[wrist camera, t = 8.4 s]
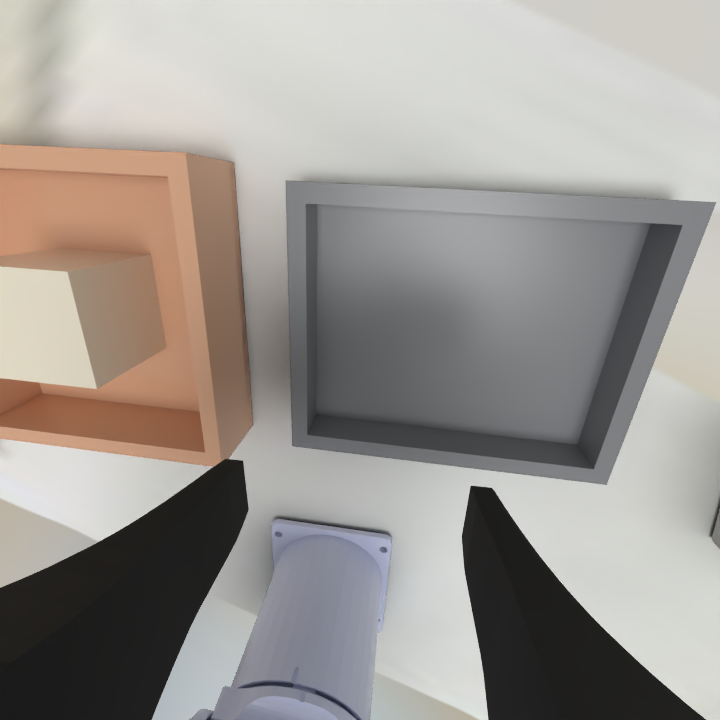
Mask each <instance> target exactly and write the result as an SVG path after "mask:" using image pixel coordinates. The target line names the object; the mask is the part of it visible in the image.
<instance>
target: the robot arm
mask: <svg viewBox="0 0 720 720" xmlns="http://www.w3.org/2000/svg"><path fill="white" fill-rule="evenodd" d="M248 510H249V509H248V501H247V492H246V483H245V475H244V466H243V461H239V460H230V459H224V460H223V461H221V462H220V463H218V464H217V465H216V466H214V467H213V468H211V469H210V470H209V471H207V472H206V473H205V474H203V475H202V476H200V477H199V478H198V479H196V480H195V481H194V482H192V483H191V484H189V485H188V486H187V487H185V488H184V489H182V490H181V491H179V492H178V493H177V494H175V495H174V496H172V497H171V498H170V499H168V500H167V501H165V502H164V503H162V504H161V505H159V506H157V507H156V508H154V509H153V510H151V511H150V512H148V513H147V514H145V515H144V516H142V517H141V518H139V519H138V520H136V521H134V522H133V523H131V524H130V525H128V526H126V527H124V528H123V529H121V530H119V531H118V532H116V533H114V534H112V535H111V536H109V537H107V538H105V539H103V540H102V541H100V542H98V543H96V544H94V545H92V546H91V547H89V548H87V549H85V550H83V551H81V552H78V553H77V554H75V555H73V556H70V557H68V558H66V559H64V560H62V561H60V562H58V563H56V564H54V565H52V566H50V567H48V568H46V569H43V570H41V571H39V572H37V573H34V574H32V575H30V576H28V577H25V578H23V579H21V580H18V581H16V582H14V583H11V584H9V585H6V586H4V587H2V588H0V720H151V719H152V717H153V714H154V712H155V709H156V707H157V704H158V702H159V699H160V697H161V694H162V692H163V689H164V687H165V685H166V682H167V680H168V677H169V675H170V673H171V670H172V668H173V666H174V663H175V661H176V659H177V656H178V654H179V651H180V649H181V647H182V645H183V643H184V640H185V638H186V636H187V633H188V631H189V629H190V627H191V624H192V623H193V621H194V618H195V616H196V614H197V613H198V611H199V609H200V607H201V605H202V603H203V601H204V599H205V598H206V596H207V594H208V592H209V590H210V588H211V587H212V585H213V583H214V581H215V579H216V577H217V576H218V574H219V572H220V570H221V568H222V567H223V565H224V563H225V561H226V559H227V557H228V555H229V554H230V552H231V550H232V548H233V546H234V544H235V542H236V540H237V538H238V535H239V533H240V531H241V528H242V526H243V523H244V520H245V518H246V515H247V512H248ZM278 531H279V532H278ZM271 532H272V550H273V567H274V574H273V577H272V579H271V582H270V585H269V587H268V590H267V593H266V595H265V598H264V601H263V603H262V606H261V609H260V611H259V614H258V617H257V619H256V622H255V625H254V628H253V630H252V633H251V635H250V638H249V641H248V643H247V646H246V649H245V651H244V654H243V657H242V659H241V662H240V664H239V667H238V670H237V672H236V675H235V678H234V680H233V683H232V686H231V687H227V686H225V687H223V689H222V692H221V695H220V697H219V699H218V702H217V704H216V707H215V710H214V711H211V710H207V709H201V710H199V711H198V712H197V713H196V714H195V715H194V717H192V718H191V719H189V720H370V713H371V701H372V689H373V678H374V666H375V654H376V642H377V633H379V632H381V631H382V626H383V618H384V609H385V600H386V591H387V583H388V574H389V565H390V556H391V548H392V538H391V537H390V536H389V535H386V534H381V533H374V532H367V531H360V530H353V529H346V528H339V527H332V526H325V525H318V524H311V523H304V522H297V521H290V520H283V519H276V520H274V521H273V523H272V526H271ZM280 532H281V533H280ZM462 543H463V557H464V568H465V575H466V580H467V586H468V591H469V596H470V602H471V607H472V612H473V617H474V622H475V627H476V633H477V638H478V643H479V648H480V653H481V660H482V666H483V673H484V681H485V690H486V700H487V709H488V718H489V720H706V719H704V718H703V717H702V716H701V715H699V714H698V713H697V712H696V711H694V710H693V709H692V708H691V707H689V706H688V705H687V704H686V703H685V702H683V701H682V700H681V699H680V698H679V697H678V696H677V695H675V694H674V693H673V692H672V691H671V690H670V689H668V688H667V687H666V686H665V685H664V684H663V683H661V682H660V681H659V680H658V679H657V678H656V677H654V676H653V675H652V674H651V673H650V672H649V671H648V670H647V669H646V668H644V667H643V666H642V665H641V664H640V663H639V662H638V661H637V660H636V659H635V658H634V657H633V656H632V655H630V654H629V653H628V652H627V651H626V650H625V649H624V648H623V647H622V646H621V645H620V644H619V643H618V642H617V641H616V640H615V639H614V638H613V637H612V636H611V635H609V634H608V633H607V632H606V631H605V630H604V629H603V628H602V627H601V626H600V625H599V624H598V623H597V622H596V621H595V620H594V619H593V618H592V617H591V615H590V614H589V613H588V612H587V611H586V610H585V609H584V608H583V607H582V606H581V605H580V604H579V602H578V601H577V600H576V599H575V598H574V597H573V596H572V595H571V594H570V592H569V591H568V590H567V589H566V588H565V587H564V585H563V584H562V583H561V582H560V581H559V580H558V578H557V577H556V576H555V575H554V573H553V572H552V571H551V570H550V569H549V567H548V566H547V565H546V564H545V562H544V561H543V560H542V559H541V557H540V556H539V555H538V553H537V552H536V551H535V549H534V548H533V547H532V545H531V544H530V543H529V541H528V540H527V539H526V537H525V536H524V534H523V533H522V532H521V530H520V529H519V527H518V526H517V525H516V523H515V522H514V520H513V519H512V517H511V516H510V514H509V513H508V511H507V510H506V508H505V507H504V505H503V504H502V502H501V501H500V499H499V497H498V496H497V494H496V493H495V491H494V490H493V489H492V488H487V487H477V486H471V488H470V494H469V499H468V505H467V511H466V516H465V522H464V527H463V533H462ZM383 547H385V548H383Z"/></svg>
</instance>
